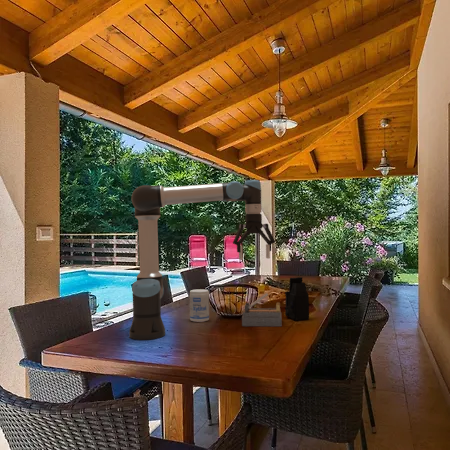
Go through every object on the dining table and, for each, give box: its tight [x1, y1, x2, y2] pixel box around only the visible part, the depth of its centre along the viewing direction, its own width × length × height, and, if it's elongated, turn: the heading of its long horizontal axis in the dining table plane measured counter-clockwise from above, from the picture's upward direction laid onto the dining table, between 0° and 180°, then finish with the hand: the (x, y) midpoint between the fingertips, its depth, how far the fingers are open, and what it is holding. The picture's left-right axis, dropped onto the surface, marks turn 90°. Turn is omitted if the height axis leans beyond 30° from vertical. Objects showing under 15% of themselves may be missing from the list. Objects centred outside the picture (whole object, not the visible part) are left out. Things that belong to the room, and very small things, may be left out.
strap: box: [248, 288, 274, 309], centre depth 199 cm, size 16×4×1 cm
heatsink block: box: [241, 302, 283, 327], centre depth 199 cm, size 18×12×9 cm, turn 83°
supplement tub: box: [189, 288, 210, 323], centre depth 208 cm, size 10×10×15 cm
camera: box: [284, 277, 310, 322], centre depth 208 cm, size 10×14×20 cm
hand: (254, 259), depth 198 cm, fingers open, 13 cm apart
